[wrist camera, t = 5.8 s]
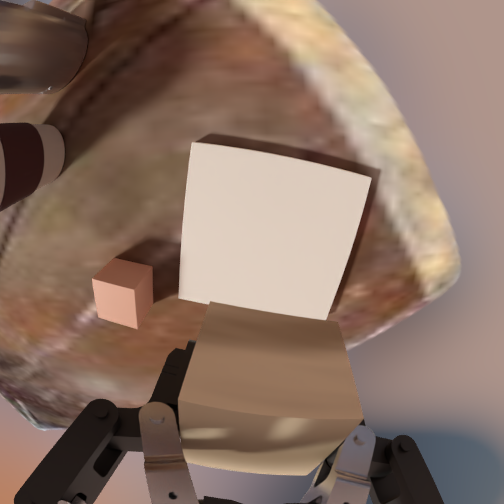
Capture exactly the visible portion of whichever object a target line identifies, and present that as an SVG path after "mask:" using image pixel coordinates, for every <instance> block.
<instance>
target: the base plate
mask: <svg viewBox="0 0 504 504" xmlns="http://www.w3.org/2000/svg"><path fill="white" fill-rule="evenodd" d="M371 179H372V178H370V177H368V176H365V175H362V174H358V173H355V172H351V171H348V170H344V169H340V168H336V167H332V166H328V165H324V164H320V163H316V162H311V161H307V160H302V159H298V158H293V157H288V156H283V155H278V154H273V153H268V152H262V151H257V150H251V149H245V148H238V147H232V146H225V145H217V144H210V143H201V142H192V145H191V153H190V160H189V168H188V177H187V186H186V195H185V205H184V216H183V228H182V241H181V257H180V276H179V298H180V299H185V300H190V301H194V302H199V303H204V304H209V303H210V301H212V302H217V303H223V304H228V305H233V306H238V307H244V308H250V309H255V310H261V311H267V312H273V313H279V314H286V315H292V316H299V317H305V318H312V319H320V320H326V318H327V316H328V313H329V310H330V308H331V305H332V303H333V300H334V297H335V295H336V292H337V289H338V287H339V284H340V281H341V278H342V275H343V273H344V270H345V267H346V264H347V261H348V258H349V255H350V252H351V249H352V246H353V242H354V239H355V236H356V233H357V229H358V226H359V223H360V219H361V216H362V212H363V209H364V205H365V202H366V198H367V194H368V190H369V187H370V183H371Z"/></svg>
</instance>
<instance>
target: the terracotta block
mask: <svg viewBox="0 0 504 504" xmlns="http://www.w3.org/2000/svg"><path fill="white" fill-rule="evenodd" d="M92 282H93V289H94V295H95V301H96V307H97V312H98V317H99V318H103V319H106V320H109V321H112V322H115V323H119V324H122V325H125V326H129V327H132V328H136V329H138V328H139V326H140V324H141V323H142V321H143V319H144V318H145V316H146V314H147V313H148V311H149V309H150V308H151V306H152V305H153V266H149V265H144V264H139V263H135V262H130V261H126V260H121V259H117V258H113V259H112V260H111V261H110V262H109V263H108V264H107V265H106V266H105V267H104V268H103V269H102V270H101V271H99V272H98V273H97V274H96V275H95V276H94V277H93V278H92Z"/></svg>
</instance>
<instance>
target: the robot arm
mask: <svg viewBox="0 0 504 504" xmlns="http://www.w3.org/2000/svg"><path fill="white" fill-rule="evenodd" d="M85 22H86V20H85V19H83V18H81V17H79V16H76V15H74V14H71V13H69V12H67V11H64V10H62V9H59V8H56V7H54V6H51V5H48V4H45V3H42V2H39V1H36V0H31V1H29V2H27V3H25V4H24V5H19V4H15V3H11V2H7V1H2V0H0V94H52V93H55V92H57V91H59V90H60V89H62V88H63V87H64V86H66V85H67V84H68V83H69V82H70V81H71V79H72V78H73V77H74V76H75V74H76V73H77V71H78V70H79V68H80V66H81V64H82V62H83V59H84V57H85V54H86V50H87V44H88V37H87V33H86V30H85V28H84V26H85ZM195 345H196V341H194V340H189V341H188V344H187V347H186V350H182V349H178V348H176V349H174V350H173V351H172V352H171V353H170V354H169V355H168V357H167V359H166V362H165V365H164V367H163V369H162V373H161V374H160V377H159V379H158V381H157V384H156V386H155V389H154V392H153V394H152V397H151V399H150V400H149V402H148V403H147V404H145V405H144V406H142V407H139V408H117V407H116V406H115V405H114V404H113V403H112V402H111V401H109V400H106V399H96V400H93V401H91V402H90V403H89V404H88V405H87V406H86V407H85V409H84V410H83V411H82V412H81V413H80V415H79V416H78V417H77V418H76V419H75V421H74V422H73V423H72V424H71V426H70V427H69V428H68V429H67V430H66V432H65V433H64V434H63V435H62V437H61V438H60V439H59V440H58V441H57V443H56V444H55V445H54V446H53V448H52V449H51V450H50V451H49V453H48V454H47V455H46V456H45V458H44V459H43V460H42V461H41V463H40V464H39V465H38V467H37V468H36V469H35V470H34V472H33V473H32V474H31V475H30V477H29V478H28V479H27V481H26V482H25V483H24V485H23V486H22V487H21V488H20V490H19V491H18V492H17V494H16V495H15V498H14V504H93V503H94V502H95V500H96V499H97V497H98V495H99V494H100V492H101V491H102V489H103V488H104V486H105V485H106V483H107V482H108V480H109V479H110V477H111V476H112V474H113V473H114V471H115V470H116V468H117V467H118V465H119V464H120V462H121V461H122V459H123V457H124V456H125V454H126V453H127V451H136V452H143V453H144V459H145V462H144V468H145V474H146V479H147V484H148V489H149V493H150V498H151V502H152V504H242V503H239V502H236V501H233V500H227V499H220V498H214V497H208V496H204V499H203V500H198V499H197V496H196V493H195V490H194V487H193V483H192V480H191V476H190V473H189V469H188V466H187V463H186V460H185V457H184V454H183V450H182V446H181V442H180V426H179V411H178V397H179V394H180V391H181V388H182V385H183V382H184V378H185V375H186V372H187V369H188V366H189V363H190V360H191V357H192V354H193V351H194V348H195ZM368 494H370V497H371V500H372V502H373V504H444V502H443V500H442V498H441V496H440V493H439V491H438V489H437V487H436V485H435V482H434V480H433V478H432V476H431V474H430V472H429V470H428V467H427V465H426V463H425V461H424V459H423V457H422V455H421V453H420V451H419V449H418V447H417V445H416V443H415V441H414V440H413V439H412V438H411V437H409V436H406V435H399V436H397V437H396V438H394V439H393V440H390V439H385V438H380V437H377V436H375V435H374V433H373V431H372V430H371V429H369V428H368V427H366V426H365V422H364V419H363V420H362V421H361V422H360V424H359V425H358V426H357V427H356V428H355V429H354V430H353V431H352V432H351V433H350V434H349V436H348V437H347V438H346V439H345V440H344V441H343V442H342V443H341V444H340V445H339V446H338V447H337V448H336V449H335V450H334V451H333V452H332V453H331V454H330V455H329V456H328V457H326V458H325V459H324V460H323V461H322V462H321V464H320V466H319V468H318V471H317V473H316V476H315V478H314V480H313V482H312V485H311V487H310V489H309V490H308V492H307V493H306V494H305V495H304V497H303V498H302V500H301V502H300V503H293V504H366V501H367V497H368ZM286 504H290V503H286ZM291 504H292V503H291Z"/></svg>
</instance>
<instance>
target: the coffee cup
mask: <svg viewBox="0 0 504 504" xmlns="http://www.w3.org/2000/svg"><path fill="white" fill-rule="evenodd" d="M64 158H65V147H64V141H63V138H62V136H61V134H60V132H59V131H58V130H57V129H56V128H55V127H54V126H52V125H48V124H33V125H31V124H29V123H1V124H0V212H1V211H2V210H4V209H6V208H7V207H9V206H11V205H13V204H15V203H16V202H18V201H20V200H22V199H24V198H26V197H27V196H29V195H31V194H32V193H33V192H34V191H35V190H37V189H39V188H41V187H43V186H45V185H47V184H49V183H51V182H53V181H54V180H55V179H56V178H57V177H58V175H59V174H60V172H61V170H62V167H63V164H64Z"/></svg>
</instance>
